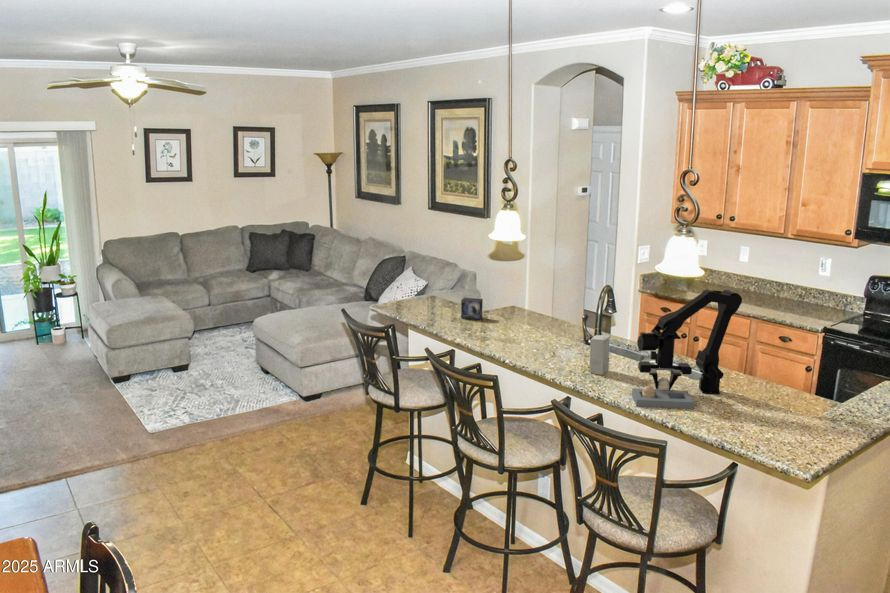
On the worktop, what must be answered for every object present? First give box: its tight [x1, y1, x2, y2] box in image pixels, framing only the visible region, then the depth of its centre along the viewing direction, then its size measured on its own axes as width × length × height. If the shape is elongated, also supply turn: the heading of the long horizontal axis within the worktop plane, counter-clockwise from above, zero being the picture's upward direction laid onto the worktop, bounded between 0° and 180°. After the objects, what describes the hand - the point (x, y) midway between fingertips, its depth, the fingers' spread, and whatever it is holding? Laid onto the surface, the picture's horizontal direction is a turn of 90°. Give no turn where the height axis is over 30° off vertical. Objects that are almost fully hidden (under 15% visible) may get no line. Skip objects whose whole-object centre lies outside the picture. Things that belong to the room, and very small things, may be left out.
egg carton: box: [631, 385, 695, 410], centre depth 256 cm, size 20×12×6 cm, turn 83°
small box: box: [460, 297, 483, 321], centre depth 376 cm, size 11×6×10 cm, turn 73°
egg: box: [658, 377, 670, 390], centre depth 265 cm, size 4×4×6 cm
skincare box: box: [588, 334, 611, 376], centre depth 288 cm, size 8×6×15 cm
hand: (663, 389), depth 266 cm, fingers closed on egg, 4 cm apart
